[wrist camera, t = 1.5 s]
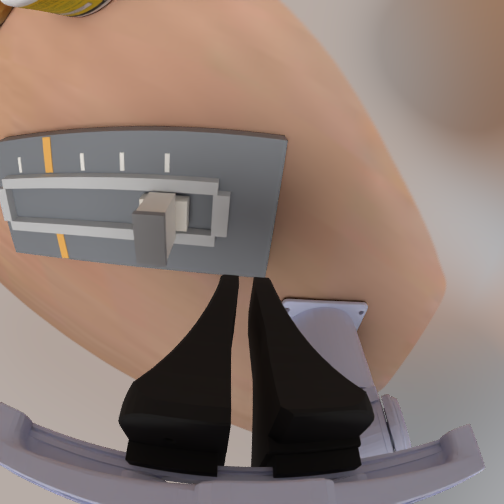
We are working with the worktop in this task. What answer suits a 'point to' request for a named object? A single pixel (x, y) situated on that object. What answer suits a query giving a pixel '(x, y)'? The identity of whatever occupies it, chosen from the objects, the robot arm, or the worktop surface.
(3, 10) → the pastry
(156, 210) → the fader tab
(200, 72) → the worktop surface
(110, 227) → the console
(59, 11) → the supplement bottle
